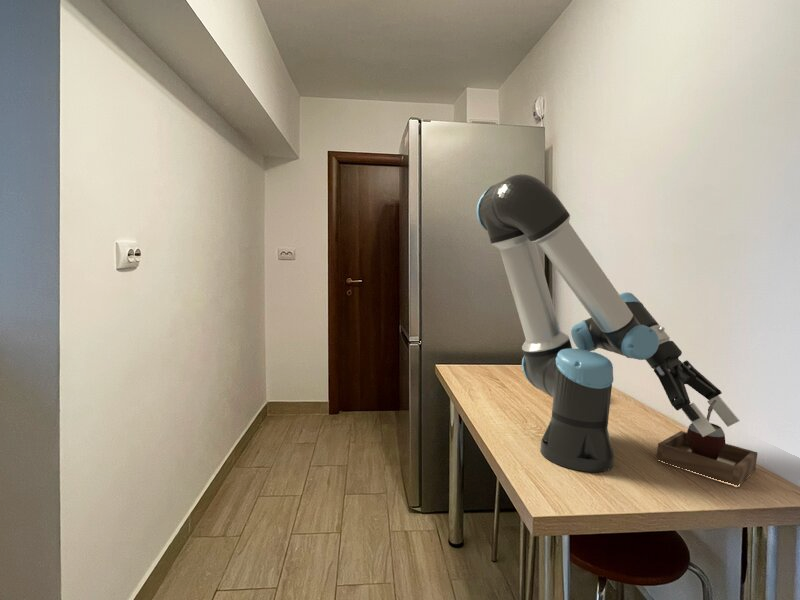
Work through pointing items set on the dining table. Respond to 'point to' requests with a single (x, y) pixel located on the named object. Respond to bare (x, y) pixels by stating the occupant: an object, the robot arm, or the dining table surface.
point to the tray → (708, 460)
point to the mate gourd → (706, 439)
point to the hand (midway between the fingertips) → (722, 428)
